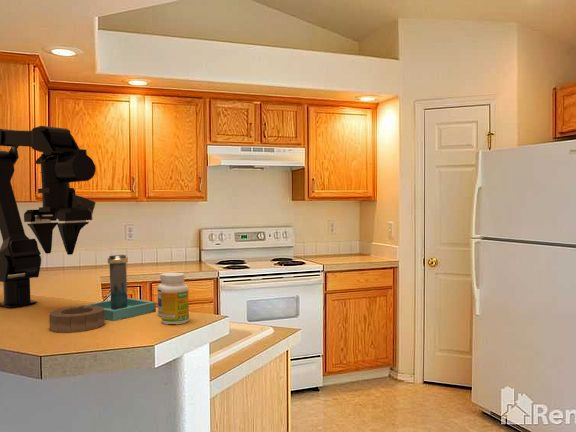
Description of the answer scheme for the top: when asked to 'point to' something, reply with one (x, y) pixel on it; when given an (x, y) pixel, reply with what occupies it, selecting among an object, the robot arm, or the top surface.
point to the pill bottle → (160, 292)
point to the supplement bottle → (174, 299)
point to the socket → (76, 318)
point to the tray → (126, 309)
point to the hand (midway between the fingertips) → (58, 254)
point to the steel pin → (118, 281)
